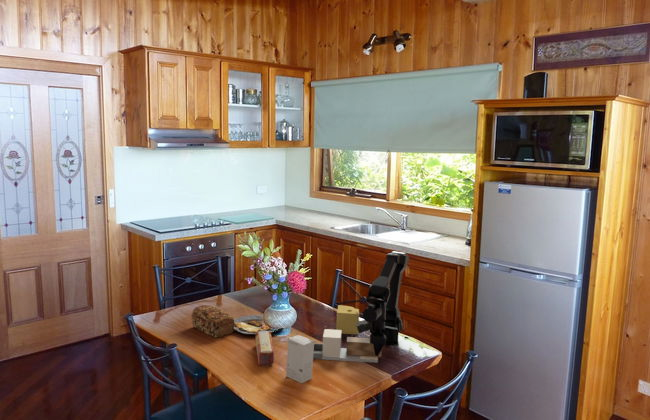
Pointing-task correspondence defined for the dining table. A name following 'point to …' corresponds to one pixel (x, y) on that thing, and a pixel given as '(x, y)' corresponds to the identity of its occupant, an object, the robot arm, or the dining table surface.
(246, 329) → the food plate
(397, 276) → the robot arm
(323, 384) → the dining table surface
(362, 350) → the walnut block
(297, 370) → the skincare box
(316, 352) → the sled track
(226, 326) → the bread
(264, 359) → the snack package
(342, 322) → the cheese
